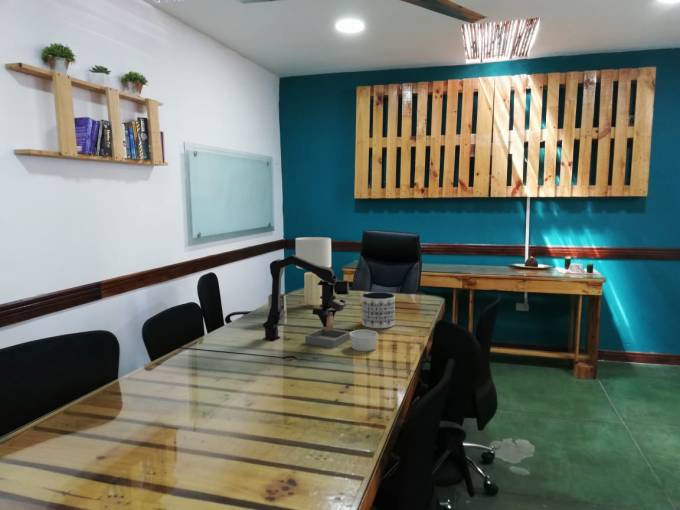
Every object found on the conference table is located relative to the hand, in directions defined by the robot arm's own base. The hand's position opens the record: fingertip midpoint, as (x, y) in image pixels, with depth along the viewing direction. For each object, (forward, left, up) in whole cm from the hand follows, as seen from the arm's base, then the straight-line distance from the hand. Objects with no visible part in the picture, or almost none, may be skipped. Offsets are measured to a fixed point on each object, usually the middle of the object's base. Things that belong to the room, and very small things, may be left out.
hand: (327, 325), depth 229 cm
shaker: (0, 0, -2) cm, 2 cm away
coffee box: (+16, +43, -8) cm, 47 cm away
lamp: (+61, +48, -8) cm, 78 cm away
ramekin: (-1, -20, -8) cm, 22 cm away
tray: (0, 0, -8) cm, 8 cm away
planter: (+40, -8, -8) cm, 42 cm away
